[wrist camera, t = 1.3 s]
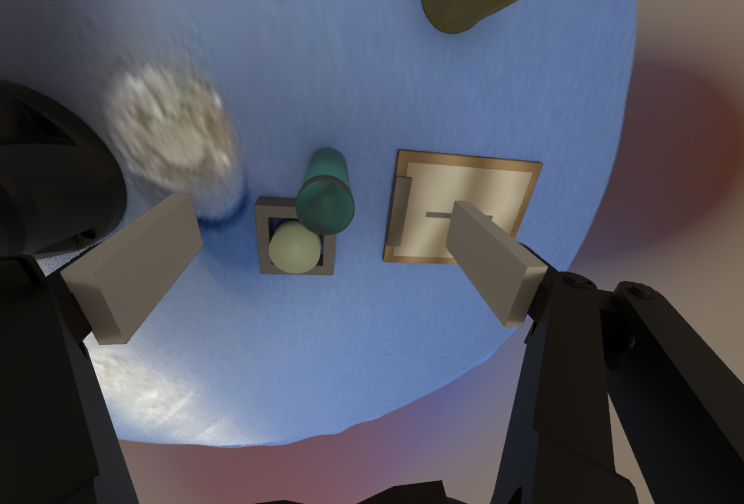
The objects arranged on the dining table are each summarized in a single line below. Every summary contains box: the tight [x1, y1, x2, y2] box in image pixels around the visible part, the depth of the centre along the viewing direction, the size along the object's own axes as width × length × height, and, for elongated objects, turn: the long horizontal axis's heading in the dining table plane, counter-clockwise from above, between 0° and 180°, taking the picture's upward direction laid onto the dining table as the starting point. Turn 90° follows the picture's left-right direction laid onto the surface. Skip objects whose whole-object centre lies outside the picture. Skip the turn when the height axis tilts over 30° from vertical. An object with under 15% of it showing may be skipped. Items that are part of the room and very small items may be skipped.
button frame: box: [254, 197, 335, 275], centre depth 32 cm, size 8×8×2 cm
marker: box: [295, 148, 354, 235], centre depth 24 cm, size 4×4×13 cm
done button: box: [269, 219, 321, 274], centre depth 30 cm, size 5×5×3 cm
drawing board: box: [383, 149, 543, 264], centre depth 33 cm, size 16×13×1 cm
